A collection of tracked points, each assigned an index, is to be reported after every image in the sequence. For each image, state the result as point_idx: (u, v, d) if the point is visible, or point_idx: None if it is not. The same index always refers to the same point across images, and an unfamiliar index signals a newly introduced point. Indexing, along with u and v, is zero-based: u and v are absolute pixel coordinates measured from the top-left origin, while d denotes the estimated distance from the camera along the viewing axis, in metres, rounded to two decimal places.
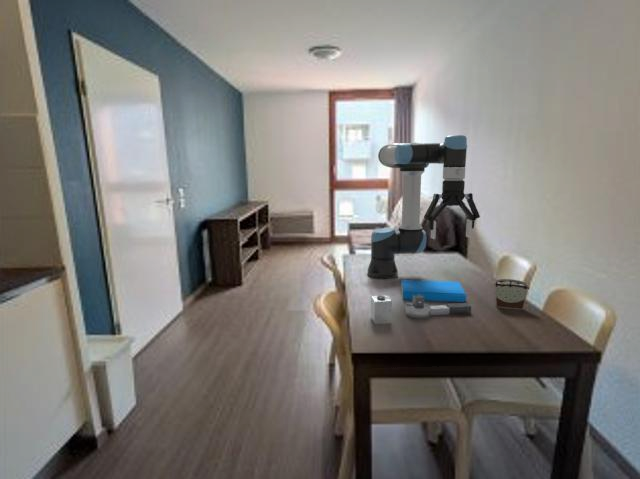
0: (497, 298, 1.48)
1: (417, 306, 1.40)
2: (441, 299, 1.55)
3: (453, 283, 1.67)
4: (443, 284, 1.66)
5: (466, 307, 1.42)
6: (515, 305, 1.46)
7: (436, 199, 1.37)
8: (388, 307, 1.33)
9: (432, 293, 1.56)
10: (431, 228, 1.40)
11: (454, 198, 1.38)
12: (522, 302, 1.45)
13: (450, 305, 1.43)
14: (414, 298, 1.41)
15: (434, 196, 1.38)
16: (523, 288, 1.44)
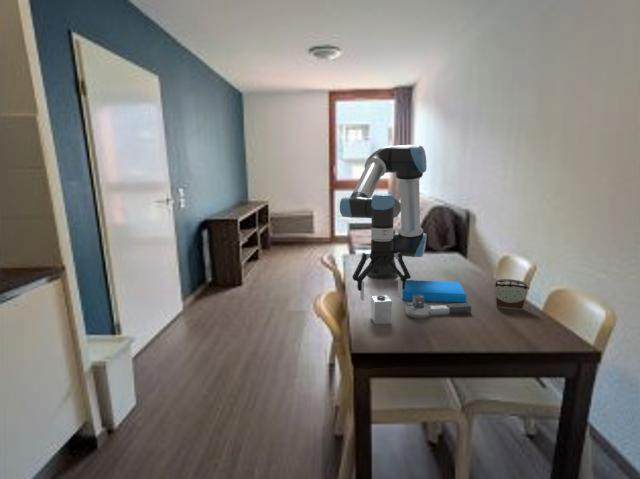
0: (497, 298, 1.48)
1: (417, 306, 1.40)
2: (441, 299, 1.55)
3: (453, 283, 1.67)
4: (443, 284, 1.66)
5: (466, 307, 1.42)
6: (515, 305, 1.46)
7: (363, 260, 1.31)
8: (388, 307, 1.33)
9: (432, 294, 1.56)
10: (359, 289, 1.33)
11: (383, 258, 1.32)
12: (522, 302, 1.45)
13: (450, 305, 1.43)
14: (414, 298, 1.41)
15: (362, 256, 1.32)
16: (523, 288, 1.44)
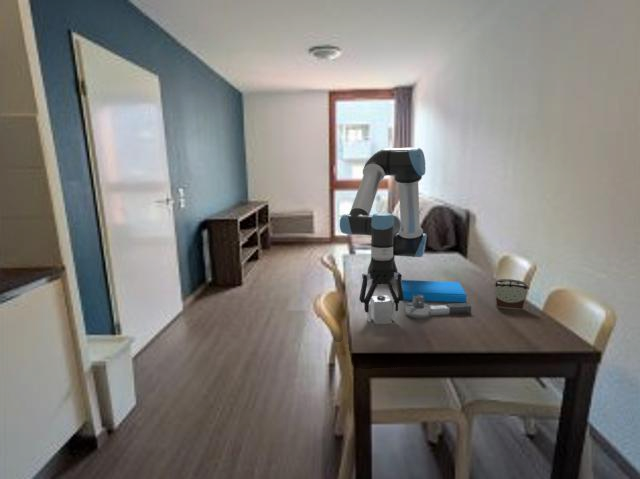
0: (497, 298, 1.48)
1: (417, 306, 1.40)
2: (441, 299, 1.55)
3: (453, 283, 1.67)
4: (443, 284, 1.65)
5: (466, 307, 1.42)
6: (515, 305, 1.46)
7: (365, 281, 1.33)
8: (388, 307, 1.33)
9: (432, 294, 1.55)
10: (366, 311, 1.35)
11: (382, 276, 1.33)
12: (522, 302, 1.45)
13: (450, 305, 1.43)
14: (414, 298, 1.41)
15: (362, 277, 1.34)
16: (523, 288, 1.44)
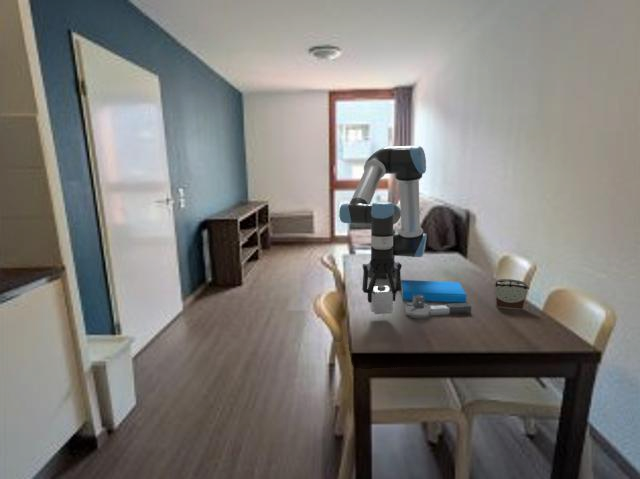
0: (497, 298, 1.48)
1: (417, 306, 1.40)
2: (441, 300, 1.55)
3: (453, 283, 1.67)
4: (443, 284, 1.65)
5: (466, 307, 1.42)
6: (515, 305, 1.46)
7: (365, 271, 1.32)
8: (388, 297, 1.33)
9: (432, 294, 1.55)
10: (369, 301, 1.35)
11: (383, 265, 1.32)
12: (522, 302, 1.45)
13: (450, 305, 1.43)
14: (414, 298, 1.41)
15: (363, 268, 1.33)
16: (523, 288, 1.44)
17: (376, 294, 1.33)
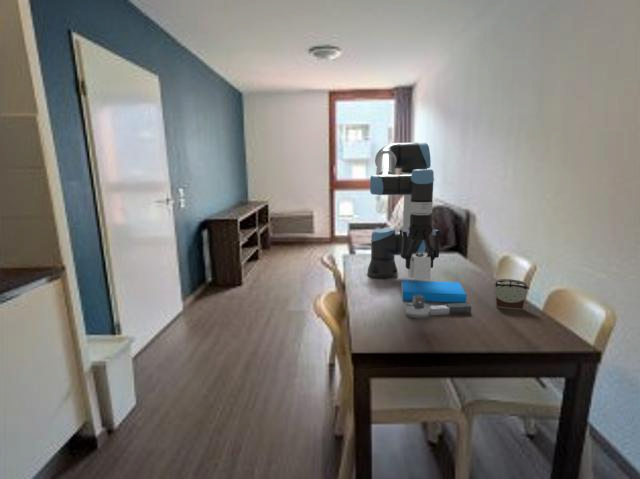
0: (497, 298, 1.48)
1: (417, 306, 1.40)
2: (441, 300, 1.54)
3: (453, 284, 1.66)
4: (443, 285, 1.65)
5: (466, 307, 1.42)
6: (515, 305, 1.46)
7: (405, 237, 1.35)
8: (427, 263, 1.36)
9: (432, 294, 1.55)
10: (408, 267, 1.38)
11: (422, 231, 1.35)
12: (522, 302, 1.45)
13: (450, 305, 1.43)
14: (414, 298, 1.41)
15: (402, 234, 1.36)
16: (523, 288, 1.44)
17: (415, 260, 1.35)
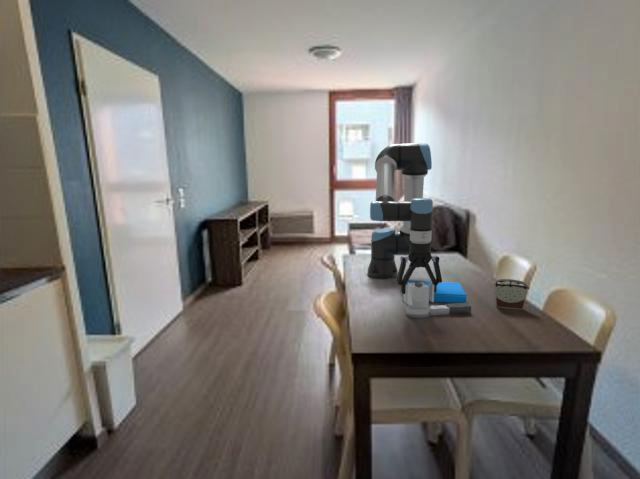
0: (497, 298, 1.48)
1: None
2: (441, 300, 1.54)
3: (453, 284, 1.66)
4: (443, 285, 1.65)
5: (466, 307, 1.42)
6: (515, 305, 1.46)
7: (403, 263, 1.37)
8: (425, 293, 1.38)
9: None
10: (403, 292, 1.40)
11: (421, 259, 1.37)
12: (522, 302, 1.45)
13: (450, 305, 1.43)
14: None
15: (401, 260, 1.38)
16: (523, 288, 1.44)
17: (414, 290, 1.38)
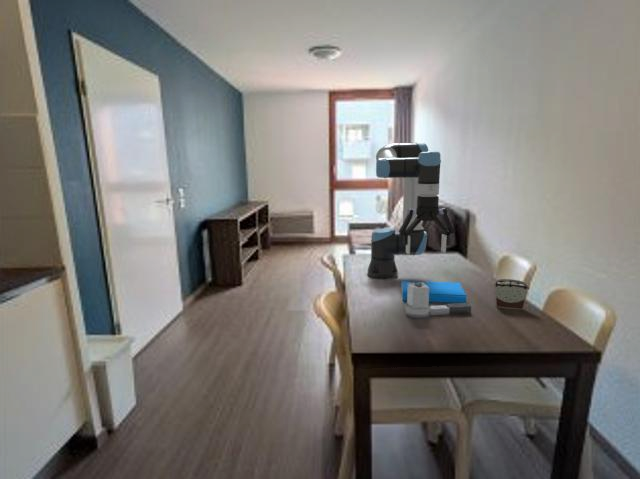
0: (497, 298, 1.48)
1: None
2: (441, 300, 1.54)
3: (454, 284, 1.66)
4: (443, 285, 1.65)
5: (466, 307, 1.42)
6: (515, 305, 1.46)
7: (410, 215, 1.38)
8: (425, 293, 1.38)
9: (432, 295, 1.55)
10: (405, 243, 1.41)
11: (428, 214, 1.39)
12: (522, 302, 1.45)
13: (450, 305, 1.43)
14: None
15: (408, 211, 1.39)
16: (523, 288, 1.44)
17: (414, 290, 1.38)
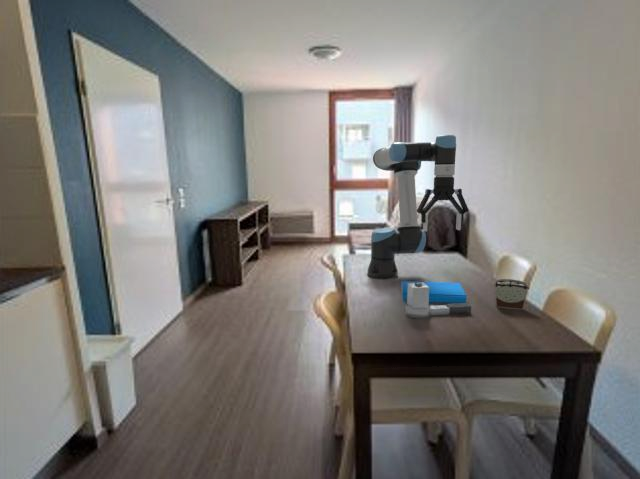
0: (497, 298, 1.48)
1: None
2: (441, 300, 1.54)
3: (454, 284, 1.65)
4: (443, 285, 1.64)
5: (466, 307, 1.42)
6: (515, 305, 1.46)
7: (428, 194, 1.48)
8: (425, 293, 1.38)
9: (432, 295, 1.54)
10: (423, 221, 1.51)
11: (444, 193, 1.49)
12: (522, 302, 1.45)
13: (450, 305, 1.43)
14: None
15: (426, 191, 1.49)
16: (523, 288, 1.44)
17: (414, 290, 1.38)
